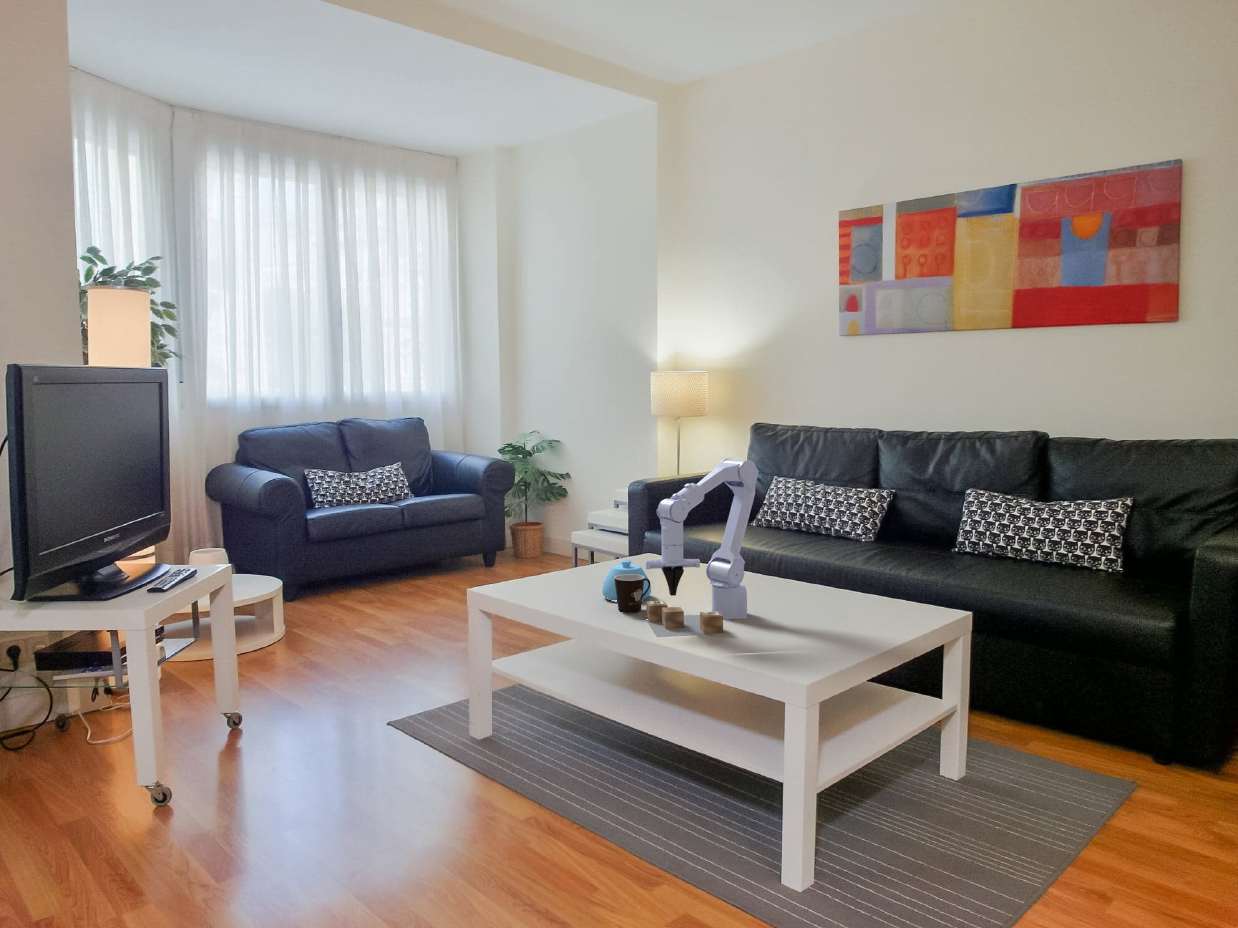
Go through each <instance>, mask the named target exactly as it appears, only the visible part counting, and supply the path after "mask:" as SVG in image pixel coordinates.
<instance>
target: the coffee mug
mask: <svg viewBox="0 0 1238 928" xmlns="http://www.w3.org/2000/svg"><path fill="white" fill-rule="evenodd" d="M614 579H615V587H616V595H617V602H616V603H617V610H619V611H620V612H619V611H618V612H619V613H621V612H623V613H622V614H636V613H637V612H638V613H640V612H641V611H642V604H643V601H642V598H643V596H644V595H645V594H646V593H647V592H648V590H649V588H650V586H651V580H650V579H649V578H648V579H646V578H644V576H641V575H635V574H625V575H618V576H615V577H614ZM645 580H646V581H648V588H647V590H646V591H645V592H644V593H643V587H644V581H645ZM639 611H640V612H639ZM638 613H637V614H638Z"/></svg>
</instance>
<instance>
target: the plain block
mask: <svg viewBox="0 0 1238 928" xmlns="http://www.w3.org/2000/svg"><path fill="white" fill-rule="evenodd" d="M684 615H685V611H684V609H682V607H681V606H668V607H664V608H662V625H663V626H664V628H665V629H674V628H684Z"/></svg>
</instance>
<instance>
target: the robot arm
mask: <svg viewBox="0 0 1238 928" xmlns="http://www.w3.org/2000/svg"><path fill="white" fill-rule="evenodd" d="M758 476H759V470H758V468H757V466H756V464H755V462H754V461H752V460H750V459H746V460H745V459H744V460H743V459H732V458H724V459H722V460H721V461H720V462H718V463H717V464H716V466H715V468H714V469H713V470H711V471H710V472H709V473H708V474H707V475H705V476H704V477H703V478H702V479H700V481H699V482H697V483H694V482H691V483H686V484H685V485H683V488H682V489H681V490H679V491H677V492H676V493H673V494H672V495H671V497H670V498H665V499H663V500H661V501H660V502H659V504H658V507H657V509H656V510H655V511H656V515H657V517H658V518H659V524H660V527H661V558H660V559H653V560H645V561H644V568H645V570H654V569H655V570H656V569H661V571H662V573H663V576H664V578H665V580H666V584H667V588H668V593H669V595H670V596H671V597H672V596H673V597H674V596H677V591H678V587H679V583H680V581H681V578H682V577H683V575H684V573H685V572H684V571H685V569H684V568H701V560H700V559H699V558H684V521H685V520H686V519H687V517H688V514H689V512H691V510H692V509H693V508H696V506H698V505H699V504H700V503H702V502H703V501H704V500H705V494H707V493H709V492H710V491H712V490H713V489H714V488H716V487H718V486H719V485H721V484H722V483H724V484H726V485H727V487H729V489H730V490H731V491H732V493H733V494H734V496H733V498H732V502H731V507H730V511H729V515H728V518H727V522H726V524H725V525H726V526H725V530H724V534H723V537H722V540H721V543H720V548H719V549H717V550H716V551H715V552H714V553H712V555H711V558H710V560H709V561H708V563H707V565H706V569H705V573H706V577H707V579H708V580H709V584H710V585H711V611H708V612H714V611H719V612H720V613H721V614H722V615H723V620H731V619H733V620H734V619H748V592H747V588H746V585H744V584H741V583H742V582H743V580H744V575H745V569H744V568H745V564H746V561H745V560H744V558H743V557H742V555H741V554H740V553H741V550H742V545H743V542H744V537H745V534H746V530H747V527H748V522H749V519H750V514H751V510H752V506H753V503H754V499H755V495H756V483H757V480H758Z"/></svg>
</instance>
